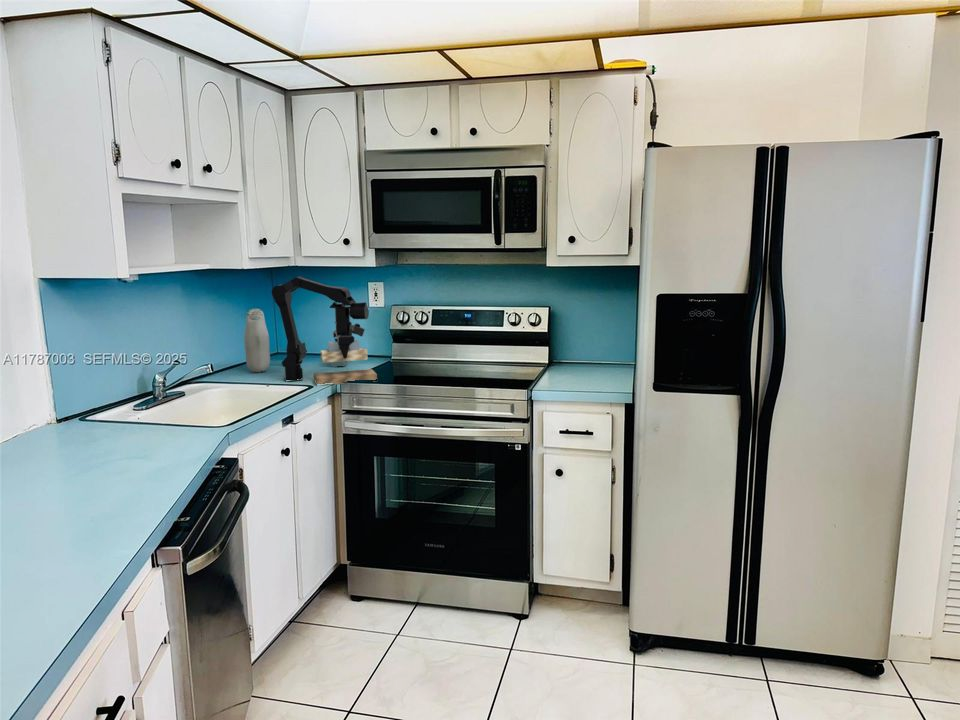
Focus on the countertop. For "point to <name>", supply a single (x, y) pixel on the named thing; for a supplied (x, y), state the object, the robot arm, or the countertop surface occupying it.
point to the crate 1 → (333, 346)
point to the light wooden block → (338, 356)
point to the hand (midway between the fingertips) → (344, 357)
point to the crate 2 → (354, 346)
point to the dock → (344, 376)
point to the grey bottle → (256, 341)
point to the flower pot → (338, 363)
